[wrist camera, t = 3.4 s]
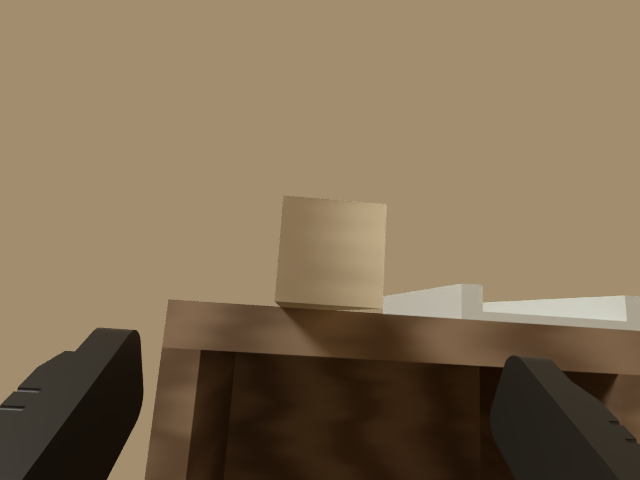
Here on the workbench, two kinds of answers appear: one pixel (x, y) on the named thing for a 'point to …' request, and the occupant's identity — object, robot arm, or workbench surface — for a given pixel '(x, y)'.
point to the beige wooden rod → (331, 254)
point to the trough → (517, 308)
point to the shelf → (356, 391)
